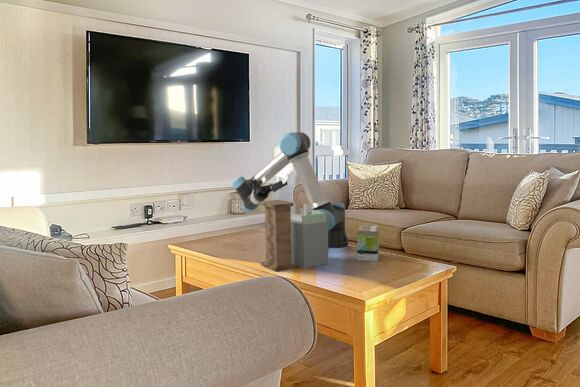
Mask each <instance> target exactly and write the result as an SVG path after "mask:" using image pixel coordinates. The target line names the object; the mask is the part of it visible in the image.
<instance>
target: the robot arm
mask: <svg viewBox="0 0 580 387" xmlns="http://www.w3.org/2000/svg"><path fill="white" fill-rule="evenodd" d="M278 145H279V146H278V147H279V150H280V153H279V154H277V155H276V156H275V157H274V158H273V159H272V160H270V161H269V162H268V163H267V164H266V165H264V166H263V167H262V168H261V169H260V170H259V171H258V172H256V173H255V174H254V175H253V176H252V177H251V178H250V179H249V178H248V179H246V178H245V176H243V175H241V176H239V177H236V178H235V179H234V180H233V181H232V183H231V184H232V186H233V188H234V190H235V191H236V193H237V194H238V195H239V197H240V199H241V201H242V205H241V206H242V209H243V210H244V211H245V212H248V213H251V212H254V211H255V210H256V209H257V208H258V207H260V206H261V205H260V203H259V202H262V201H266V199H268V197H269V195H270V193H271V192H273V193H276V192H277V191H278V190H280V189H282V188H284V187H285V186H288V184H289V183H288V181H289V180H290V179H291V177H290V174H289V173H286V174H285V175H284V176H283V177H282V178H281V179H280V180H279V181H276V182H275V183H271V184H268V185H265V184H266V183H267V182H269V181H270V180H271V179H273V178H274V177H275V176H276V175H277V174H278V173H280V172H281V171H282V170H283V169H284V168H286V167H287V166H288V165H289V164H290V163H291V164H293V167H294V170H295V172H296V174H297V176H298V179H299V181H300V183H301V186H302V188H303V190H304V192H305V195H306V197H307V200H308V201H309V204H312V210H316V211H321V212H326V213H328V248H344V247H347V246H349V238H348V236H347V232H346V205H345V204H344V203H343V202H331V200H328V199H327V198H326V195H325V193H324V191H323V189H322V187H321V185H320V182H319V179H318V177H317V175H316V173H315V170H314V167H313V165H312V163H311V161H310V158H309V155H310V152H309V149H310V147H311V139H310V136H308V135H307V134H306V133H304V132H302V131H301V132H300V131H299V132H293V131H291V132H287V133H284V134H283V135H282V137H280V140H279V143H278Z"/></svg>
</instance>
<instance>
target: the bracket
mask: <svg viewBox="0 0 580 387" xmlns="http://www.w3.org/2000/svg"><path fill="white" fill-rule="evenodd" d="M311 214H312V204H310V203H304V204H303V214H299V213H295V212H291V219H296V220H300V221H302V216H304V215H311Z"/></svg>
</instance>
